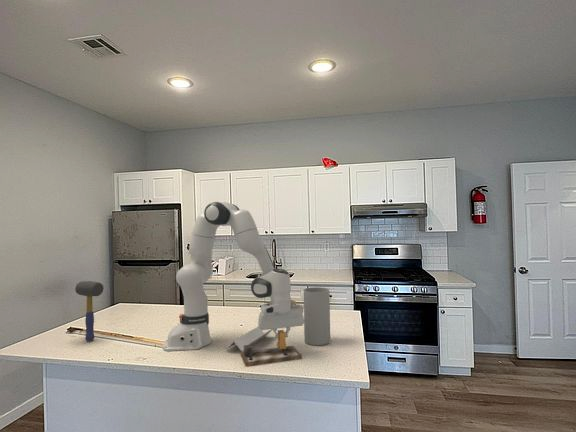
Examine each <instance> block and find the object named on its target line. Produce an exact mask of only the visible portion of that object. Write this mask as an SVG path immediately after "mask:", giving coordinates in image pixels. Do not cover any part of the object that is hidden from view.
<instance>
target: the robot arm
mask: <svg viewBox="0 0 576 432" xmlns="http://www.w3.org/2000/svg"><path fill="white" fill-rule="evenodd" d="M203 211H204V212H201V213H199V214H198V216H197V217H196V219H195V222H194V225H193V228H192V232H191V237H190V241H189V242H190V243H189V246H188V249H189V250H188V251H189V252H190V263H188V264H185V265H183V266H182V267H181V268H180V269H179V270H178V271H177V272H176V275H175V280H176V283H177V284H178V285H179V286H180V289H181V291H182V296H183V305H184V306H183V311H184V313H180V314H178V315H179V316H178V318H179V323H178V324H177V325H175V326H174V327H173V328H172V329H171V330H170V331H169V333H168V336H167V340H165V341H164V342H163V343H164V344H163V343H162V349H163V350H164V351H165V352H172V351H173V352H174V351H192V350H193V351H194V350H200V349H202V348H203V347H206V346H208V345H209V344H211V343H212V337H211V334H210V327H209V324H210V314H209V311H208V310H209V309H208V308H209V307H208V306H209V304H208V295H207V294H206V292H205V288H204V283H206V282H208V281H209V280H210V279H211V277H212V275H213V273H214V269H213V266H212V265H213V263H212V261H213V260H212V259H213V257H212V255H213V248H214V243H215V239H216V238H215V237H216V234H217V229H218V228H219V227H220V226H223V227H224V226H225V227H226V226H227V227H228V226H229V227H230V228H231V230H232V232H233V236H234V239H235V242H236V244H237V246H238V248H239V249H240V250H241V251H243V252H245V253H247V254H250V255H251V256H253V257H254V258H256V260H257V261H258V265H259V267H260V269H261V271H262V275H260V276H257V277H255V278H254V279H252V281H251V284H250V291H251V293H252V294H253V296H254V297H256V298H258V299H264V298H270V301H271V302H270V301H269V302H267V303H264V304H262V305H260V312H259V315H258V322H257V323H258V324H257V327H258V326H259V328H260V329H261V330H262V331H269V330H271V329H273V330H272V331H273V333H274V337H275V339H277V340H278V338H279V333H278V329H285V331H284V332H285V338H288V337H289V332H290V331H291V328H295V327H302V326H304V306H303V305H301V304H296V305H291V300H292V298H291V277H290V272H288V271H287V270H285V269H282V268H276V266H275V264H274V262H273V260H272V258H271V255H270V253H269V250H268V249H267V246H266V245H265V243H264V242H263V239H262V238H261V236H260V233H259V230H258V227H257V224H256V223H255V220H254V218H253V216H252V214H251V212H250V211H249V210H247V209H240V208H239V206H237V205H236V204H233V203H228V202H226V201H225V202H222V201H221V202H219V201H213V202H210V203H208V204H207V205H206V207H205V208H204V210H203Z"/></svg>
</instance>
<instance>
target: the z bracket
mask: <svg viewBox="0 0 576 432" xmlns="http://www.w3.org/2000/svg"><path fill="white" fill-rule="evenodd" d="M272 331H273V329H268V330H267V331H266V332H265V333H264V330H261V329H260V328H259V326H258V325H257V326H256V327H255V328H253V329H251V330H250V331H248V332H246V333H244V334H242V335H241V336H239V337H237V338H235V339H233V341H232V342H231V343H229V345H228V346H227V347H226V348H224V349H225V350H228V349H229V348H231V347H233V346H235V345H236V347H238V349H239V350H240V352H244V345H251V346H253V345H255V344H256V343H258V342H260V341H261V340H262V339H264V338H266V337H267V336H268V335H269V334H270V333H271V332H272Z"/></svg>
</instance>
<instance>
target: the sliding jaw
mask: <svg viewBox="0 0 576 432" xmlns="http://www.w3.org/2000/svg"><path fill="white" fill-rule="evenodd" d="M285 332H286V331H285V330H284V329H281V330H278V329H277V333H279V338H277V342H276V346H277V347H276V348H279V349H282V351H283V352H284V354H285V355H287V352H286V351H285V349H286V346H287V343H286V337H285Z"/></svg>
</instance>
